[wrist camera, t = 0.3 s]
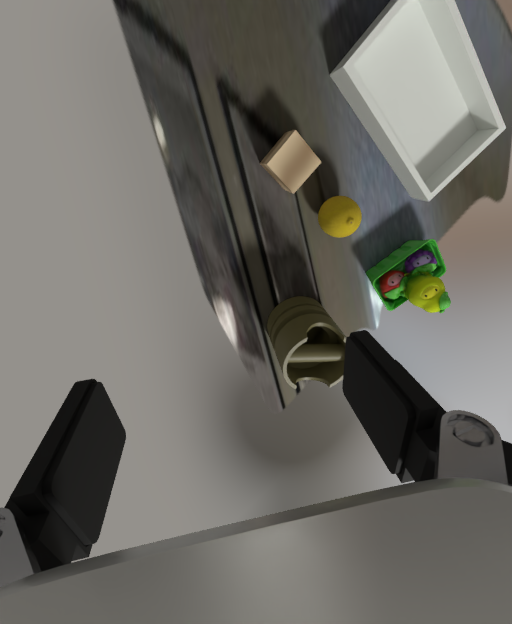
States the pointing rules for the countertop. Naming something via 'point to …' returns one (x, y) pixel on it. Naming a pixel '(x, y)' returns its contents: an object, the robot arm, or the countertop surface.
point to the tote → (420, 93)
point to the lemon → (339, 216)
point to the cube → (290, 161)
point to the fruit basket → (412, 277)
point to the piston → (306, 341)
